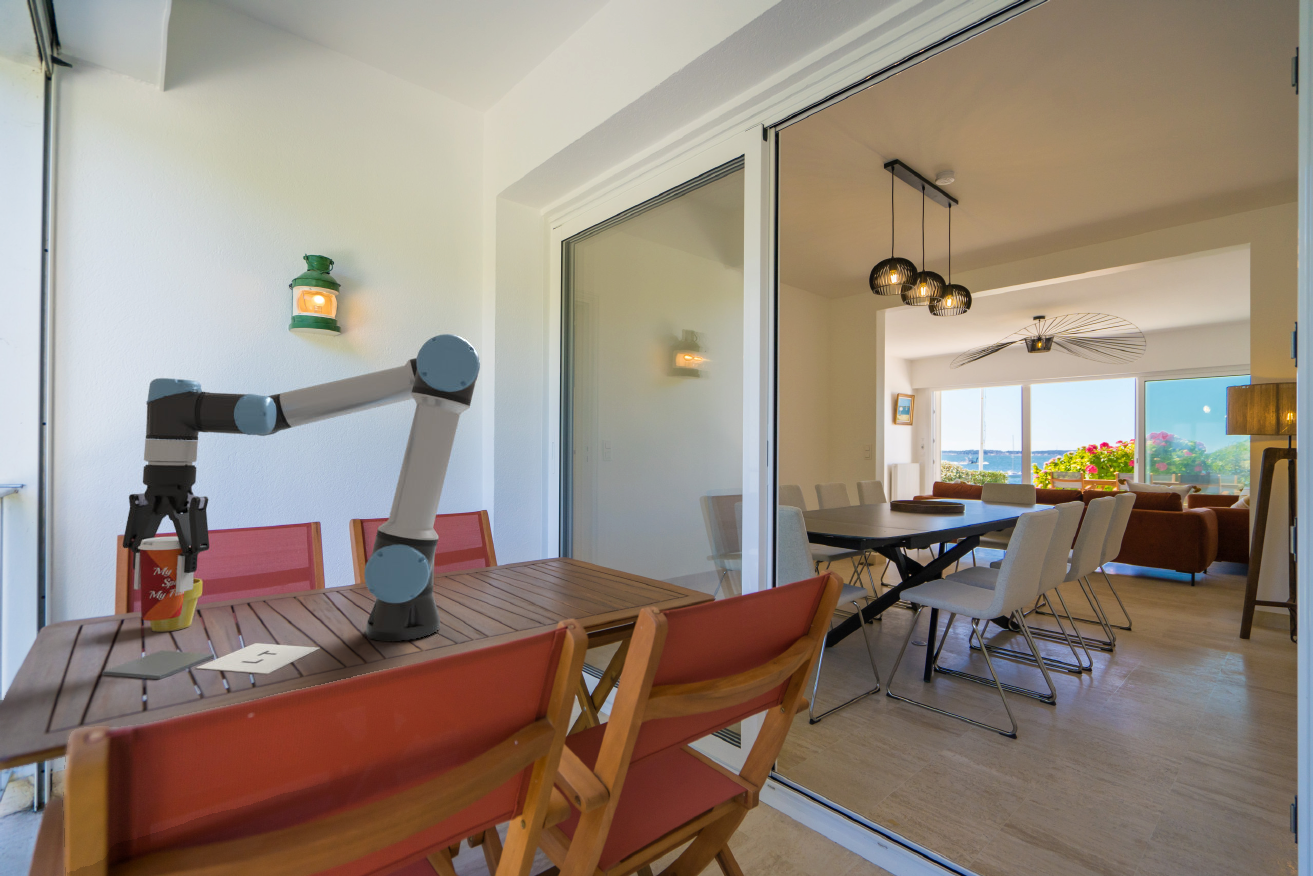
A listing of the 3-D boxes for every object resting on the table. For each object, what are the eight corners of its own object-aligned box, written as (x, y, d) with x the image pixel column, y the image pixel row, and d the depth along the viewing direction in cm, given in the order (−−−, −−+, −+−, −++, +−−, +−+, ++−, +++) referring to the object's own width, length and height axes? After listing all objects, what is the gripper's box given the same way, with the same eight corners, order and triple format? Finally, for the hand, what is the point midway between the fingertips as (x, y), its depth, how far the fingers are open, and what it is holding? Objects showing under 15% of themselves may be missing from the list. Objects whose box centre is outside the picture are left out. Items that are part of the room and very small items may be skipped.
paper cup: (157, 624, 104) (162, 543, 105) (122, 620, 106) (126, 540, 106) (199, 612, 112) (204, 537, 112) (166, 609, 114) (170, 534, 114)
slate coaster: (213, 657, 114) (213, 654, 114) (160, 679, 103) (160, 675, 103) (161, 653, 115) (161, 650, 115) (102, 674, 104) (102, 671, 104)
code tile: (319, 648, 121) (319, 647, 121) (267, 674, 107) (267, 673, 107) (255, 644, 122) (255, 643, 122) (195, 668, 108) (195, 667, 108)
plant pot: (128, 630, 128) (130, 584, 128) (182, 618, 137) (184, 575, 138) (158, 637, 124) (160, 590, 124) (211, 625, 134) (213, 580, 134)
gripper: (238, 465, 112) (232, 588, 112) (139, 461, 115) (132, 581, 114) (204, 466, 105) (197, 597, 104) (99, 461, 107) (91, 590, 107)
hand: (163, 589), depth 109 cm, fingers closed on paper cup, 8 cm apart
